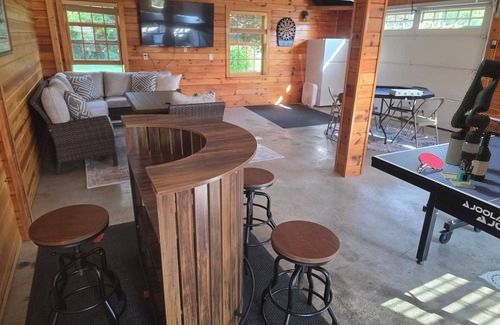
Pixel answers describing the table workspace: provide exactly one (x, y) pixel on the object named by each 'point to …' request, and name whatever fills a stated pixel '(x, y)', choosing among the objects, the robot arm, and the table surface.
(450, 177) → the grey tray
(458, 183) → the green tray
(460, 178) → the teal block
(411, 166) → the table surface
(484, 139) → the wine bottle
